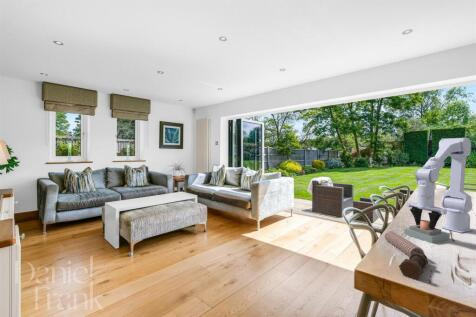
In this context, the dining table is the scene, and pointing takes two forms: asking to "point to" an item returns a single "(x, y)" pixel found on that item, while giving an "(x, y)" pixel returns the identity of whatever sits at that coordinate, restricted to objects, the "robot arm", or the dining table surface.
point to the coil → (402, 243)
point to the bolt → (414, 265)
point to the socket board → (427, 234)
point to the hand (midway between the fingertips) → (425, 226)
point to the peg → (425, 224)
